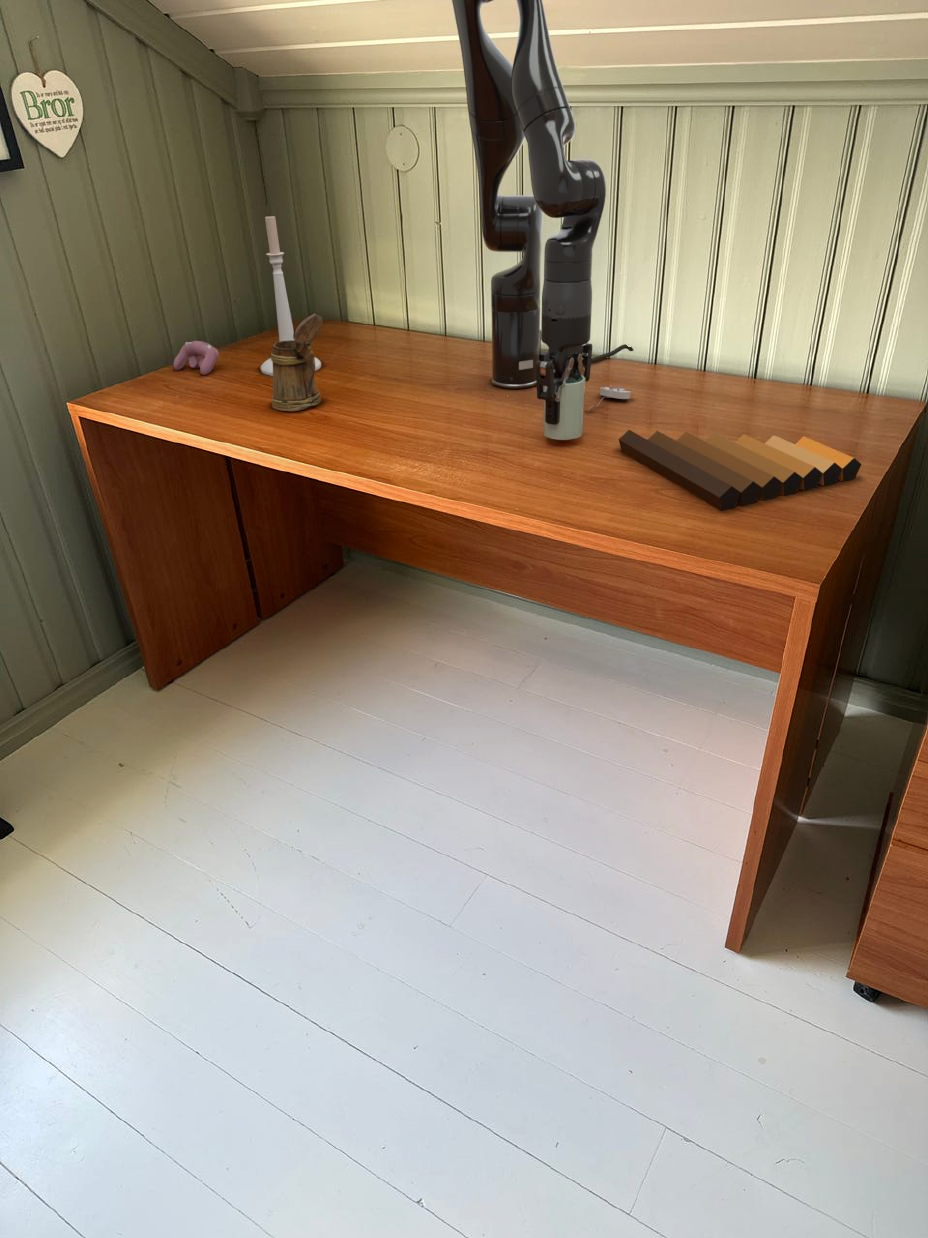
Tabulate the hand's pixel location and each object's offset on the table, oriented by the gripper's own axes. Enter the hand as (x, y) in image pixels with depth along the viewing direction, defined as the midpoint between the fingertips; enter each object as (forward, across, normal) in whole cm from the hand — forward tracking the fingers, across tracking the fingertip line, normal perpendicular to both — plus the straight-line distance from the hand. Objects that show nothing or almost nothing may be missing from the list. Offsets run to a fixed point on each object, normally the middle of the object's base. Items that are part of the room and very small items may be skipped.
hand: (563, 416), depth 136 cm
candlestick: (+4, -10, -72) cm, 73 cm away
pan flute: (+4, -4, +27) cm, 28 cm away
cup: (+3, 0, 0) cm, 3 cm away
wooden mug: (+4, +8, -51) cm, 52 cm away
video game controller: (+4, +1, -89) cm, 89 cm away
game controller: (+4, -21, -3) cm, 22 cm away
